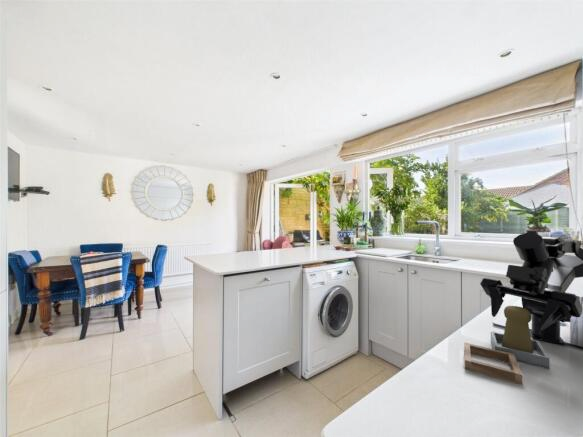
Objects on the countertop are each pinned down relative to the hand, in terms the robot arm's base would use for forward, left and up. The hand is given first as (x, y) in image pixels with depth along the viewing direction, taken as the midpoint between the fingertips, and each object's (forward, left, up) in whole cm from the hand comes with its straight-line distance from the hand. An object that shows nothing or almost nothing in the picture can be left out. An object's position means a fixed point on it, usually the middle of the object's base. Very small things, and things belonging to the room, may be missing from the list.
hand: (514, 322), depth 62 cm
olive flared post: (-1, +1, -8) cm, 8 cm away
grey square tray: (-1, +1, -8) cm, 8 cm away
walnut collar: (+9, -6, -8) cm, 13 cm away
